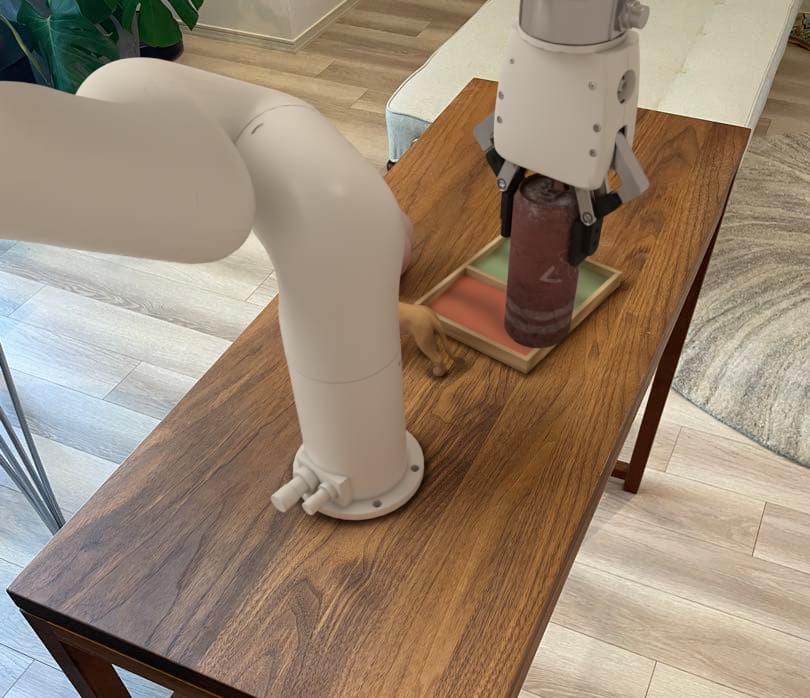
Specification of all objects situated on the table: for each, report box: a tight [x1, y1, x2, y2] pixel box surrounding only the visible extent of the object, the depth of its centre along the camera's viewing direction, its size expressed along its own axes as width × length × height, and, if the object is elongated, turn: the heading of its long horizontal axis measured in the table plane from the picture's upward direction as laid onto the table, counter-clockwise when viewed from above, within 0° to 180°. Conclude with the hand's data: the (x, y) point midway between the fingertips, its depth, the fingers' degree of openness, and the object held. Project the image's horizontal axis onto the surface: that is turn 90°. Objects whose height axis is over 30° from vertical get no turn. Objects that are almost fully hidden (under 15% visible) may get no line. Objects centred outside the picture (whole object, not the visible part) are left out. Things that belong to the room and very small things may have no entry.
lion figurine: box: [399, 300, 467, 378], centre depth 87 cm, size 15×5×9 cm, turn 72°
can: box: [504, 172, 580, 348], centre depth 72 cm, size 6×6×14 cm
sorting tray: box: [412, 233, 623, 375], centre depth 94 cm, size 19×16×2 cm
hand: (546, 242), depth 70 cm, fingers closed on can, 6 cm apart
